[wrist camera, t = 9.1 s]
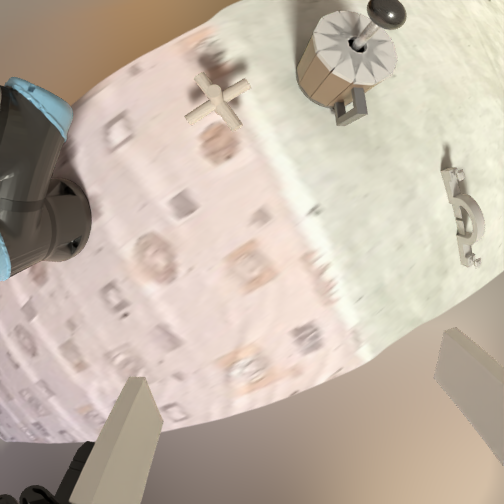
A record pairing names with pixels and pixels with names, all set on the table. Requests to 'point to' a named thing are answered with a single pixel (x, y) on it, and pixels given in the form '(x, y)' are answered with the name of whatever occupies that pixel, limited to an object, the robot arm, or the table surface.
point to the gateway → (473, 210)
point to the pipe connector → (218, 101)
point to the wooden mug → (344, 64)
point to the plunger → (381, 19)
